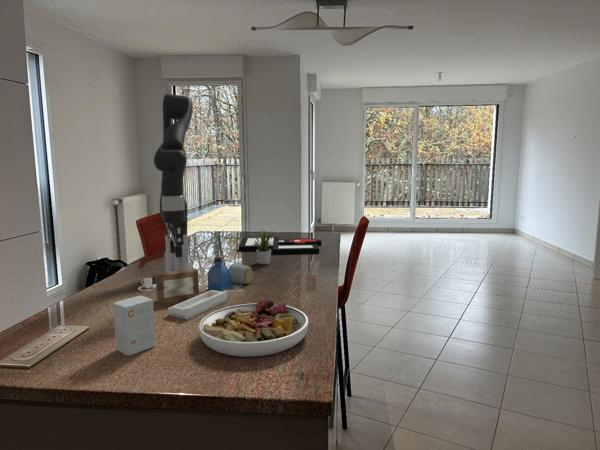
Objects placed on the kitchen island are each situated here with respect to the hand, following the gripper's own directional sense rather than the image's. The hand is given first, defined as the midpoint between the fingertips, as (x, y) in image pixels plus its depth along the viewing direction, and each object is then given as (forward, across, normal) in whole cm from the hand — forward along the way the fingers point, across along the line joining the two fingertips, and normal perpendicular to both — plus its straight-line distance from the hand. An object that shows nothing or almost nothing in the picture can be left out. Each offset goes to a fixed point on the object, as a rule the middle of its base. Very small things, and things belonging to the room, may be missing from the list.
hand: (176, 254), depth 155 cm
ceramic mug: (+16, +10, -27) cm, 33 cm away
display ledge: (+16, -13, -4) cm, 21 cm away
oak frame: (+16, 0, 0) cm, 16 cm away
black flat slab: (+16, +64, -70) cm, 97 cm away
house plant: (+16, +34, -48) cm, 61 cm away
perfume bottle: (+16, +6, -17) cm, 24 cm away
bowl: (+17, -44, -11) cm, 49 cm away
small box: (+17, -36, +19) cm, 44 cm away
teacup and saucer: (+17, +17, +7) cm, 25 cm away
